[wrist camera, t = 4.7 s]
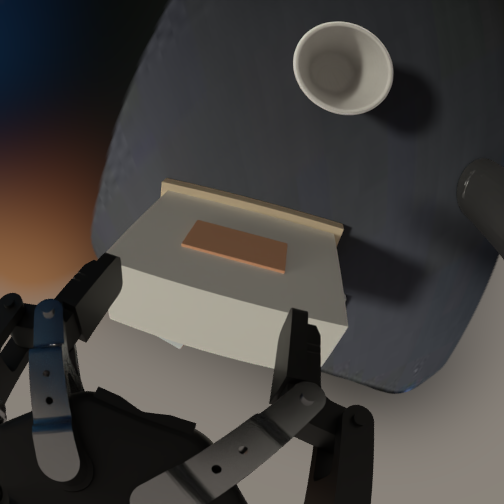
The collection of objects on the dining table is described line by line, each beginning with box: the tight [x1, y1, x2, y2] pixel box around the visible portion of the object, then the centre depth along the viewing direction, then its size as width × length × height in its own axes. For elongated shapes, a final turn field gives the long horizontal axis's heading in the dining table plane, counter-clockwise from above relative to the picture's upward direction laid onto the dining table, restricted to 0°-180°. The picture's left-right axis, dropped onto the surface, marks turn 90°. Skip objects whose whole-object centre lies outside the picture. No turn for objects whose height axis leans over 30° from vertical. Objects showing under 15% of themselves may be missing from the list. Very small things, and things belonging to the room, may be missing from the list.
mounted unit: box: [106, 178, 348, 368], centre depth 33 cm, size 24×10×18 cm, turn 78°
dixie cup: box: [293, 22, 393, 115], centre depth 23 cm, size 8×8×10 cm
